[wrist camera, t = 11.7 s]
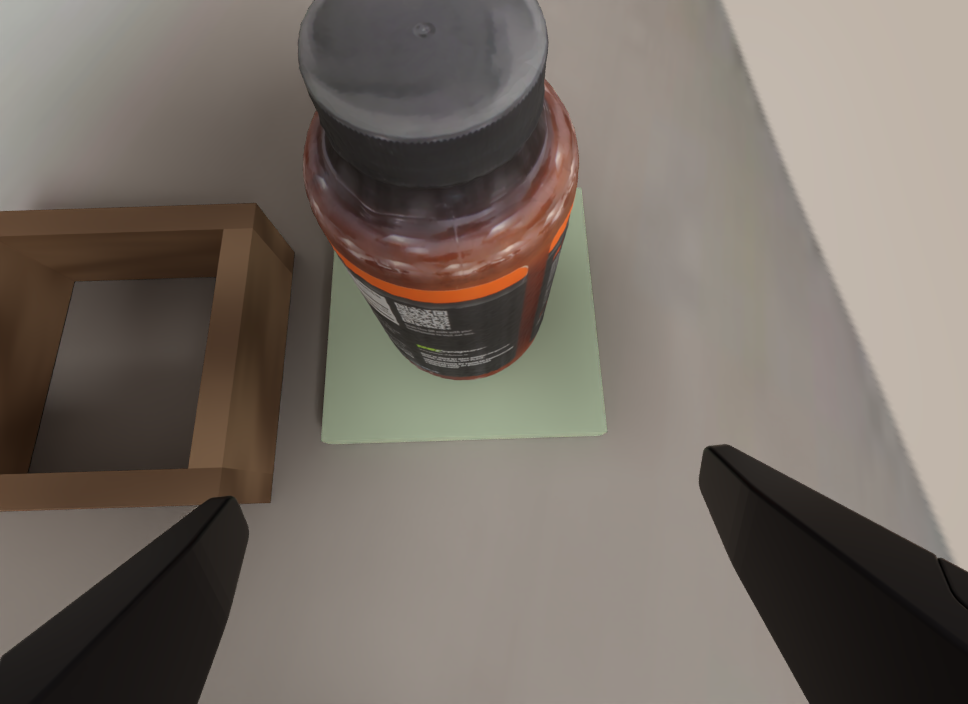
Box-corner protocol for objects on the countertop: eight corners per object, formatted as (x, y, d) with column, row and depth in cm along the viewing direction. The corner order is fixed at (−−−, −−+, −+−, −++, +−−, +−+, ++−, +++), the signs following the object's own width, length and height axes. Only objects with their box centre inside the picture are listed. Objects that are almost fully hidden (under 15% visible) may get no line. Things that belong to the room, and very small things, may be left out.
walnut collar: (270, 502, 17) (217, 503, 14) (-10, 511, 17) (-131, 514, 14) (294, 252, 20) (256, 203, 17) (55, 260, 20) (-31, 212, 17)
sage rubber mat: (600, 435, 18) (607, 431, 17) (329, 444, 18) (321, 441, 17) (576, 202, 21) (581, 187, 20) (345, 209, 21) (338, 195, 20)
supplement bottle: (509, 220, 19) (536, -136, 9) (566, 353, 18) (690, 119, 7) (366, 266, 19) (201, -53, 8) (411, 408, 17) (280, 248, 6)
